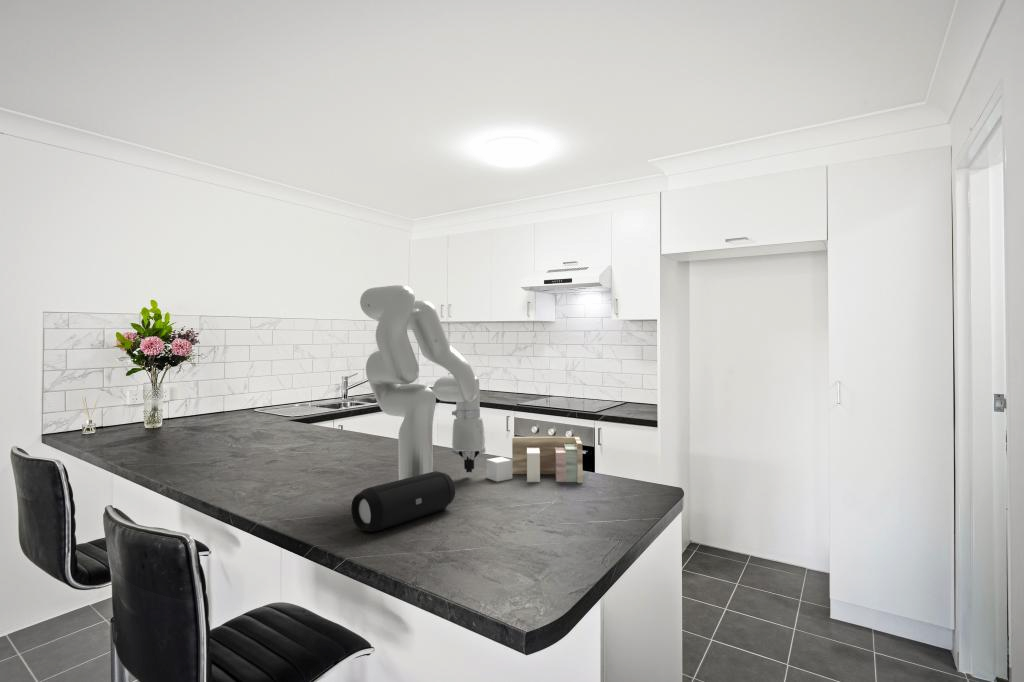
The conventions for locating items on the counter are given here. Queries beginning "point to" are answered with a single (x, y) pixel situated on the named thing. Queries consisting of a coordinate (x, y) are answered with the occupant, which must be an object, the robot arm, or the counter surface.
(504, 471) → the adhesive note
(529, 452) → the white block
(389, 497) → the portable speaker
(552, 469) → the wide wooden block
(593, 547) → the counter surface
